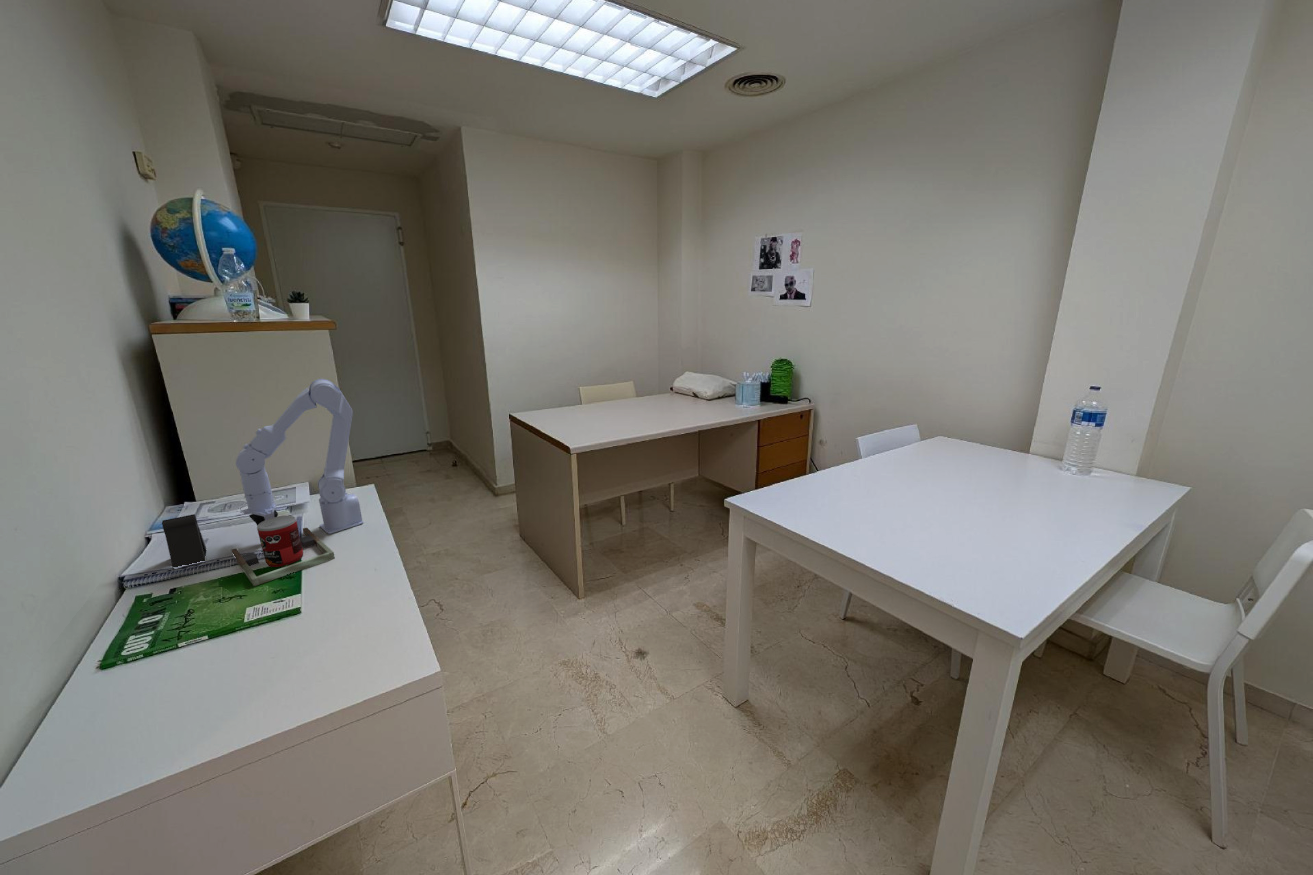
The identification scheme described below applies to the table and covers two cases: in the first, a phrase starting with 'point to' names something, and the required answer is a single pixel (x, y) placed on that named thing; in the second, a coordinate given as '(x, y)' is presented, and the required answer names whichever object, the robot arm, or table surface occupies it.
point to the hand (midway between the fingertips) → (268, 536)
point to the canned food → (280, 541)
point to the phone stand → (184, 540)
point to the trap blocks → (253, 559)
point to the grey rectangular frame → (288, 569)
